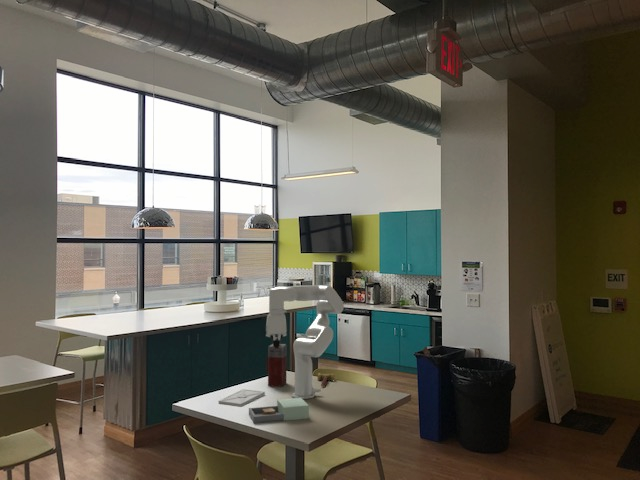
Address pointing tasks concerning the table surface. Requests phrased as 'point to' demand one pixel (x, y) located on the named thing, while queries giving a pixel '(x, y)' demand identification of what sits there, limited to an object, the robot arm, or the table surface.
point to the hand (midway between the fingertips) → (276, 347)
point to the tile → (268, 411)
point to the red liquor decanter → (276, 365)
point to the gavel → (325, 378)
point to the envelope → (242, 397)
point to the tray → (259, 418)
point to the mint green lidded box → (293, 408)
